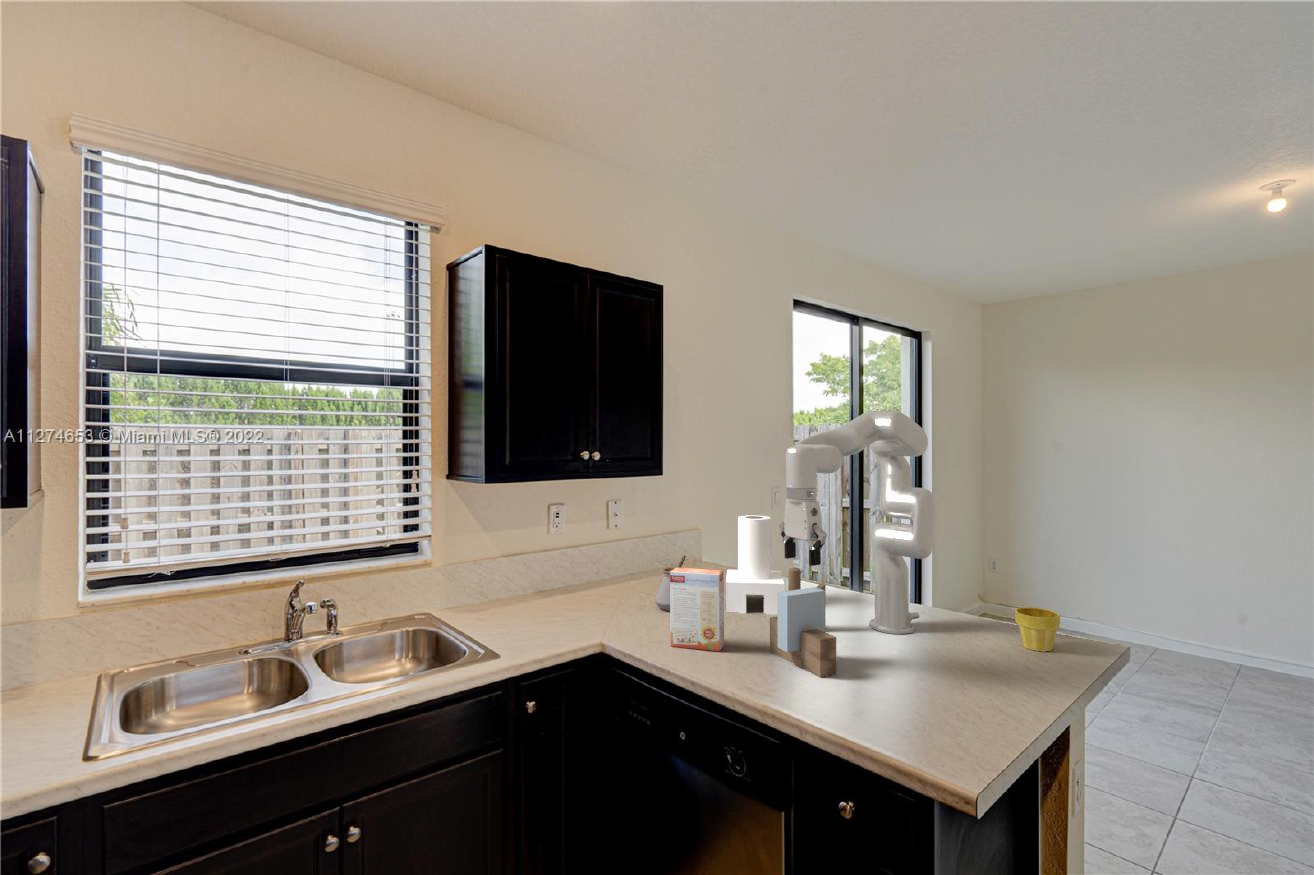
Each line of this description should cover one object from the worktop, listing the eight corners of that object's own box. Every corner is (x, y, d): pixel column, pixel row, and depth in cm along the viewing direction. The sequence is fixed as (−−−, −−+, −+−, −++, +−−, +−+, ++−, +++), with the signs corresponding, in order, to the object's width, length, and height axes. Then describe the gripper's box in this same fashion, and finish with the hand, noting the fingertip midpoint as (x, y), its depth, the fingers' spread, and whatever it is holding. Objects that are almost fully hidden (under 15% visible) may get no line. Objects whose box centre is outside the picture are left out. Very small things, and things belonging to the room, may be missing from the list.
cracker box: (724, 645, 169) (724, 569, 169) (719, 652, 164) (719, 574, 163) (676, 639, 174) (676, 566, 174) (669, 646, 168) (669, 570, 168)
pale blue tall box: (814, 640, 161) (814, 587, 161) (825, 645, 158) (825, 590, 157) (777, 647, 156) (777, 592, 156) (787, 652, 152) (787, 596, 152)
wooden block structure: (825, 632, 180) (825, 571, 180) (788, 631, 181) (788, 570, 181) (823, 628, 184) (823, 568, 184) (786, 627, 185) (786, 567, 185)
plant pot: (1012, 649, 166) (1012, 613, 166) (1017, 639, 174) (1017, 604, 174) (1058, 657, 159) (1058, 620, 159) (1061, 646, 168) (1061, 610, 168)
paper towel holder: (727, 597, 219) (727, 513, 219) (780, 599, 216) (780, 514, 216) (725, 612, 200) (725, 520, 200) (784, 614, 198) (784, 521, 197)
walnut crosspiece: (784, 648, 167) (784, 615, 167) (836, 674, 149) (836, 637, 149) (769, 651, 165) (769, 617, 165) (820, 677, 147) (820, 640, 147)
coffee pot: (683, 614, 198) (683, 568, 198) (649, 611, 202) (649, 565, 202) (701, 598, 218) (701, 555, 218) (670, 595, 222) (670, 553, 222)
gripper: (836, 497, 150) (837, 566, 151) (791, 490, 166) (792, 554, 166) (812, 499, 147) (813, 570, 147) (769, 492, 163) (769, 556, 163)
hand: (802, 561), depth 157 cm, fingers open, 9 cm apart
